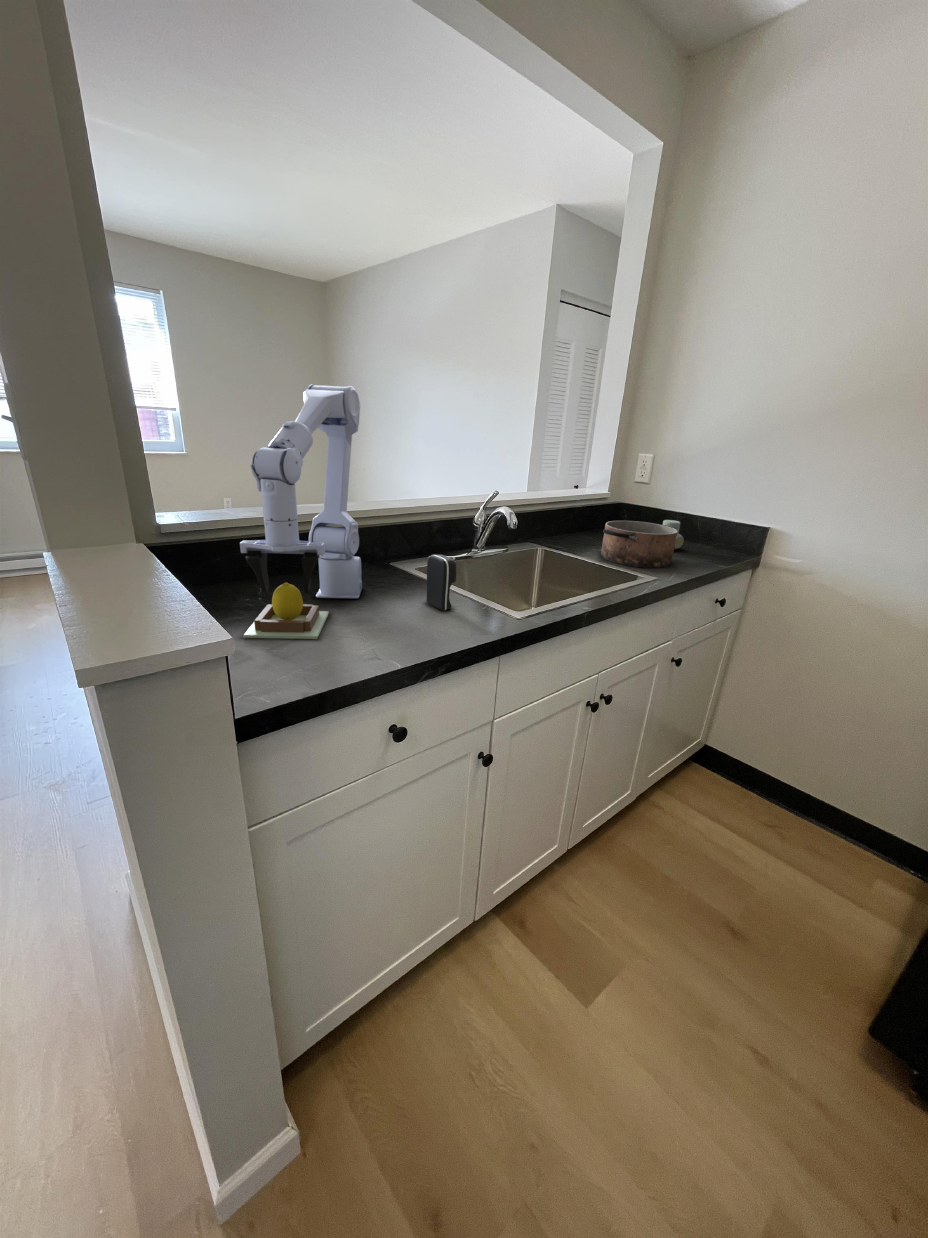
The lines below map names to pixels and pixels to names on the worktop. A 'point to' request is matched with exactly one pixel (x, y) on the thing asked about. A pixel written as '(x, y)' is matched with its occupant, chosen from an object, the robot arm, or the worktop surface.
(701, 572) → the worktop surface
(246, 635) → the cradle pad
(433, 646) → the worktop surface
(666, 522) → the air freshener
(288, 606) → the lemon
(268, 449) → the robot arm
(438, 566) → the battery charger
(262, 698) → the worktop surface
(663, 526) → the cooking pot
